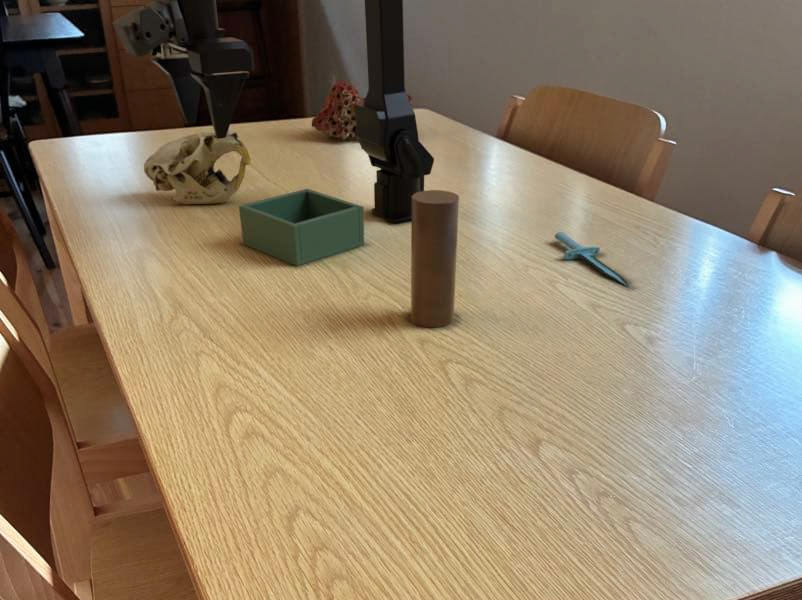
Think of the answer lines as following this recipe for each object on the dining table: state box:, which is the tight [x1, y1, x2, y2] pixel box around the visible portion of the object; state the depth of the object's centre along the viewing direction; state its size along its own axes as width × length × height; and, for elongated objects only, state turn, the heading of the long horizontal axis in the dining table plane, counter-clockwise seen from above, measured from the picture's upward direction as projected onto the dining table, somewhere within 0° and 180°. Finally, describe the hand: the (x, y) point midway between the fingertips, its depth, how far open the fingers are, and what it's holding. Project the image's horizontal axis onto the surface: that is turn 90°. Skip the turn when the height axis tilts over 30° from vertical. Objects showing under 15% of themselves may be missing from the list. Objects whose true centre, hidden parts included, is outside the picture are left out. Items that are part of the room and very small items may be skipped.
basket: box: [238, 188, 365, 267], centre depth 107 cm, size 12×12×5 cm
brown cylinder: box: [410, 189, 460, 328], centre depth 86 cm, size 5×5×13 cm
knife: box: [554, 231, 629, 288], centre depth 103 cm, size 17×1×5 cm
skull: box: [143, 129, 251, 205], centre depth 121 cm, size 10×16×10 cm, turn 78°
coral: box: [311, 80, 414, 141], centre depth 155 cm, size 18×13×15 cm
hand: (205, 130), depth 97 cm, fingers open, 9 cm apart
